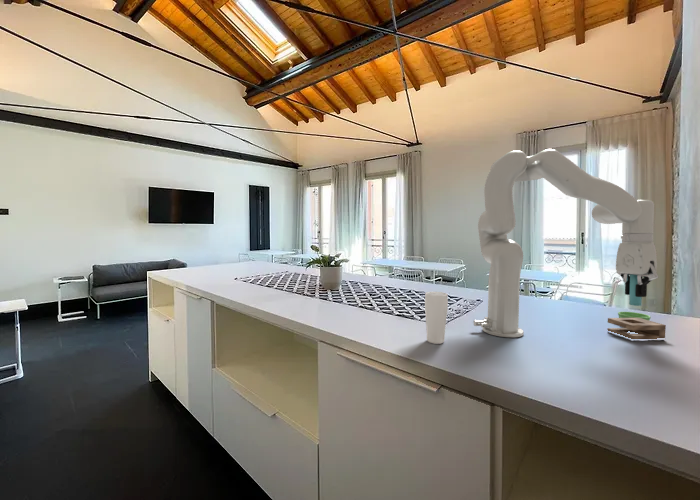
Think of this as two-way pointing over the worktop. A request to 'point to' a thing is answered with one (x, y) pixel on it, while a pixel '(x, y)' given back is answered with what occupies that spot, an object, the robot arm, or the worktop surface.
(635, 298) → the peg
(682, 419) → the worktop surface
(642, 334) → the block
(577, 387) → the worktop surface
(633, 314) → the ramekin
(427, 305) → the drinking glass
